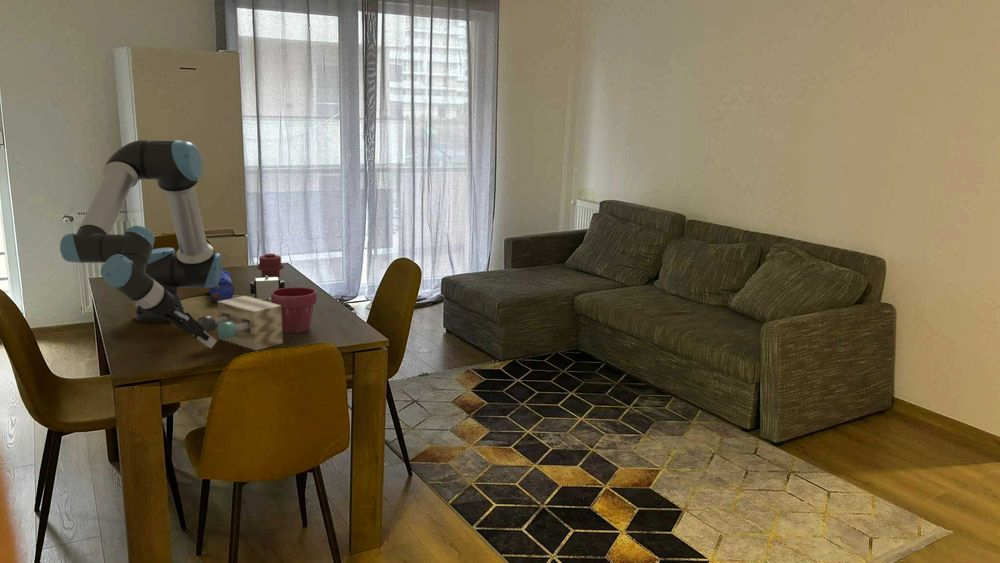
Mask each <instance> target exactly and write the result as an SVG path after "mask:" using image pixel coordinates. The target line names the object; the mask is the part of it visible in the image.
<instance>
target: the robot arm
mask: <svg viewBox="0 0 1000 563" xmlns="http://www.w3.org/2000/svg"><path fill="white" fill-rule="evenodd" d="M202 164H203V161H202V156H201V154H200V151H199V149H198V147H197V146H196V145H195V144H194V143H193V142H191V141H182V140H154V139H153V140H150V139H149V140H148V139H141V140H140V139H139V140H134V141H131V142H129V143H126V144H125V145H123V146H122V147H121V148H119V149H117V151H115V152H114V153H113V154H112V155H111V156H110V157H109V158H108V160H107V161H106V163H105V165H104V166H103V169H102V174H103V178H102V180H101V182H100V184H99V186H98V189H97V191H96V193H95V195H94V197H93V199H92V200H91V202H90V204H89V207H88V209H87V210H86V213H85V216H84V218H83V219H82V221H81V224H80V226H79V228H78V229H77V231H76V232H75V233H67V234H65V235H63V236H62V237H61V239H60V243H59V251H60V254H61V256H62V259H63V260H64V261H65V262H69V263H70V262H71V263H79V264H84V263H86V264H87V263H89V264H94V263H95V264H98V263H100V264H101V263H103V264H102V265H101V269H100V275H101V277H102V278H103V279H104V280H105V281H106V283H108V284H109V285H110V286H111V287H112V288H115V289H116V290H117V291H119V292H120V293H121V294H123V295H124V296H126V297H127V298H128V299H129V300H131V301H133V302H135V303H134V306H135V307H136V309H135V314H134V315H135V320H136V321H137V322H140V323H150V324H157V323H167V322H171V323H172V324H174V326H176V327H177V328H180V329H181V330H182V331H183V332H184V333H188V334H189V335H192V336H193V338H194V339H197V340H198V341H199V342H201V343H202V344H203V345H204V346H206V348H209V349H212V348H213V347H214V346H215V344H216V343H217V341H218V340H217V339H215V337H213V336H211V334H209V332H205V331H204V330H205V329H204V328H203V327H202V326H201V325H200V324H199V323H198V322H197V320H196V319H194V318H193V317H192V316H191V314H190V313H189V312H185V309H184V306H183V304H182V301H181V300H180V297H179V295H178V288H186V289H187V288H188V289H189V288H191V289H192V288H193V289H194V288H196V289H197V288H199V289H201V288H202V289H208V288H210V287H215V286H217V285H218V283H219V280H220V276H221V271H222V269H223V257H222V254H220V253H219V252H215V251H214V247H213V246H212V245H211V244H210V243H208V240H207V237H206V232H205V228H204V223H203V218H202V214H201V209H200V206H199V201H198V196H197V193H196V188H195V186H197V185H198V183H199V180H200V179H201V177H202V176H203V165H202ZM141 180H155V181H157V185H158V187H159V189H161V190H162V191H164V192H165V195H166V199H167V203H168V207H169V211H170V215H171V220H172V222H173V228H174V230H175V235H176V239H177V243H178V247H179V248H178V249H177V251H176V250H175V248H174V247H159V248H154V244H155V240H156V239H155V235H154V233H153V232H152V231H151V230H150V229H149V228H147V227H145V226H140V225H133V226H130V227H128V228H127V229H126V230H125V232H124V233H123V234H113V233H112V231H113V229H114V227H115V224H116V222H117V220H118V218H119V215H120V213H121V210H122V208H123V206H124V204H125V202H126V200H127V197H128V195H129V193H130V191H131V189H132V188H133V187H135V186H136V185H137V184H138V182H139V181H141ZM111 233H112V234H111Z"/></svg>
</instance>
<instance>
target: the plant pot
mask: <svg viewBox="0 0 1000 563" xmlns="http://www.w3.org/2000/svg"><path fill="white" fill-rule="evenodd" d="M271 303H274V304H278V305H281V308H282V333H287V334H298V333H299V334H300V333H304V332H308V331H309V330H310V327H311V322H312V317H313V311H314V306H315V304H316V303H317V290H316V289H314V288H311V287H301V286H295V287H294V286H293V287H291V286H290V287H289V286H288V287H285V288H281V289H277V290H274V291H272V293H271Z"/></svg>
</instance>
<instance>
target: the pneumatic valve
mask: <svg viewBox="0 0 1000 563" xmlns="http://www.w3.org/2000/svg"><path fill="white" fill-rule="evenodd" d="M281 288H286V287H285V280H281V277H280V278H279V277H268V276H265V278H262V277H254V278H253V280H252V281H250V282H249V294H250V295H253V296H254V298H255V299H261V300H263V301H267V302H270V303H271V293H272V291H274V290H277V289H281Z"/></svg>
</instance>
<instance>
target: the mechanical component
mask: <svg viewBox="0 0 1000 563" xmlns="http://www.w3.org/2000/svg"><path fill="white" fill-rule="evenodd" d="M258 262H259V263H258V264H257V270H258V271H260V272H261V278H265V276H268V277H279V278H280V279H281V275H280V274H281V273H280V271H281V270H283V269H284V264H283V263H282V257H281V255H276V254H275V253H265V254H264V255H261V256H259V258H258Z"/></svg>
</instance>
